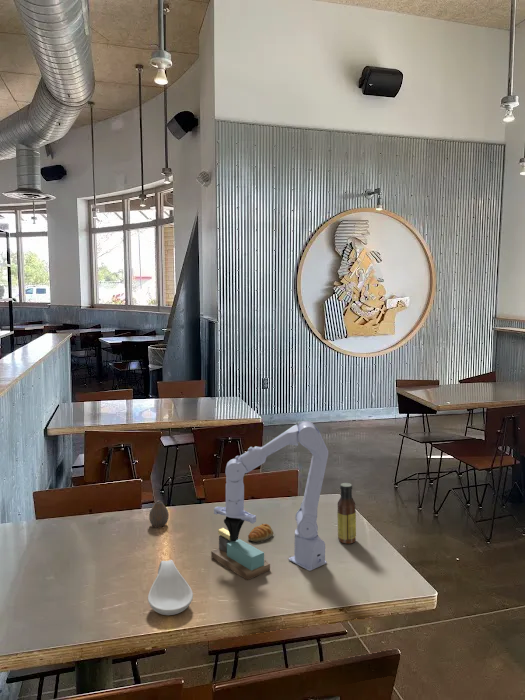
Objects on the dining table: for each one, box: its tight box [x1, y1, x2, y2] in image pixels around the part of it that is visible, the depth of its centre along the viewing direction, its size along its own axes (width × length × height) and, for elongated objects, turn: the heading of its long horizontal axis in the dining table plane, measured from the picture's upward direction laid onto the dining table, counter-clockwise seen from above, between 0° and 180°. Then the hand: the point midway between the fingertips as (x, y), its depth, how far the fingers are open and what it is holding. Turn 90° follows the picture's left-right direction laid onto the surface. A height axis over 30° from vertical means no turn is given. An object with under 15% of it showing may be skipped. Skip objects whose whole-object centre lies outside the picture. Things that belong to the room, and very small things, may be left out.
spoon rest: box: [147, 559, 194, 616], centre depth 144 cm, size 24×12×7 cm, turn 16°
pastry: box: [247, 523, 275, 543], centre depth 181 cm, size 9×7×4 cm
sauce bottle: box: [336, 482, 357, 545], centre depth 179 cm, size 7×6×20 cm
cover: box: [227, 538, 265, 571], centre depth 161 cm, size 12×5×4 cm, turn 41°
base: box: [210, 535, 271, 581], centre depth 163 cm, size 18×9×6 cm, turn 41°
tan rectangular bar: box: [217, 527, 231, 541], centre depth 168 cm, size 6×2×2 cm, turn 41°
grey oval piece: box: [148, 500, 170, 528], centre depth 190 cm, size 7×7×9 cm
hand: (234, 540), depth 164 cm, fingers closed
